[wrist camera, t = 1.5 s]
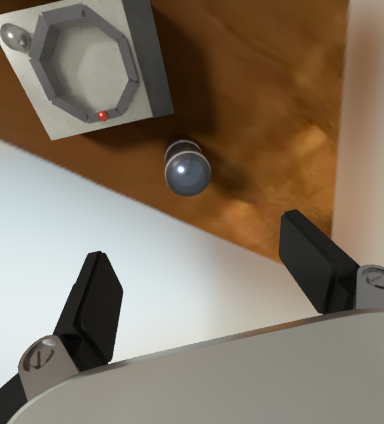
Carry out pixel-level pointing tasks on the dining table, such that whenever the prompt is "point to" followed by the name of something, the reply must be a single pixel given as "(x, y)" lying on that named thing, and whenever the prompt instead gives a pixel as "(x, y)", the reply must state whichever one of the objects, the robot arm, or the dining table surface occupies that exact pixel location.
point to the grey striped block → (88, 63)
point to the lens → (186, 166)
